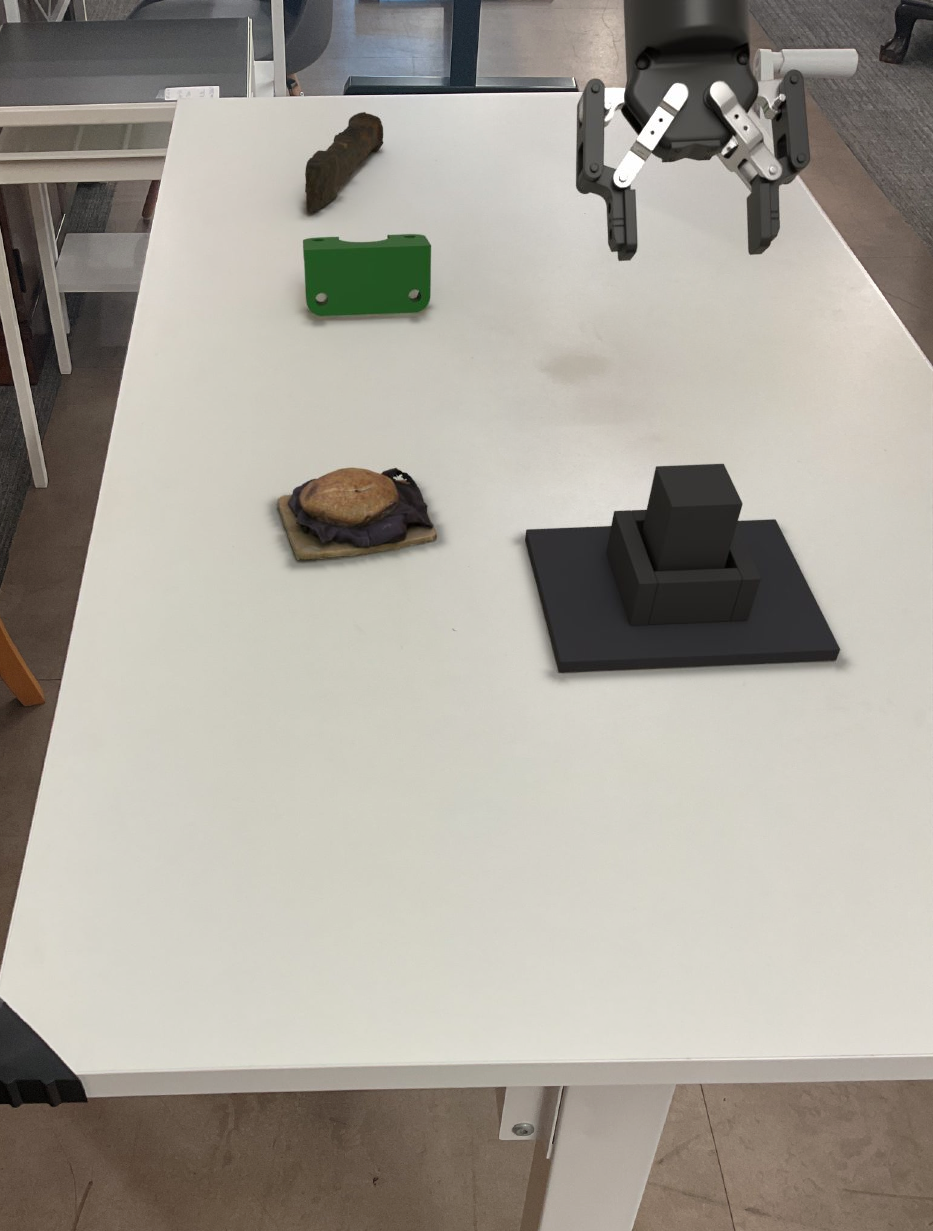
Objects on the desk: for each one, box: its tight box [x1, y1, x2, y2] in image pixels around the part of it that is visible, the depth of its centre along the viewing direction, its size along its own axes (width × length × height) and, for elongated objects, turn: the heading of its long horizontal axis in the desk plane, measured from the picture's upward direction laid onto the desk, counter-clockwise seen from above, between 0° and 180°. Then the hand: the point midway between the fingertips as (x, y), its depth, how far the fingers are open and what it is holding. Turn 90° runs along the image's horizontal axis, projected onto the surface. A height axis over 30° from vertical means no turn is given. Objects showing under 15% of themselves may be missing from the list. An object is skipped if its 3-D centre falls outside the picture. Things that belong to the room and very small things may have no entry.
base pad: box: [524, 509, 841, 674], centre depth 79 cm, size 18×14×4 cm
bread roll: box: [276, 467, 438, 561], centre depth 85 cm, size 11×8×4 cm
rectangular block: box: [641, 463, 743, 572], centre depth 77 cm, size 4×4×8 cm
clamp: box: [302, 233, 432, 317], centre depth 107 cm, size 12×6×9 cm, turn 87°
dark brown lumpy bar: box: [304, 111, 384, 214], centre depth 126 cm, size 19×4×5 cm, turn 158°
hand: (694, 253), depth 76 cm, fingers open, 8 cm apart
